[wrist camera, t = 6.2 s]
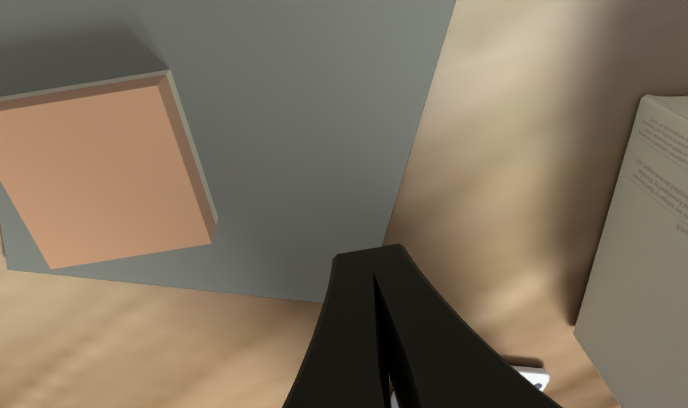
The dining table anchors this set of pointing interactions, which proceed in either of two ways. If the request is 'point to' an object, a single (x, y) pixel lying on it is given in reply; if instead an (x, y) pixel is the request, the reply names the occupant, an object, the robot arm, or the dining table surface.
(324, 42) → the felt mat
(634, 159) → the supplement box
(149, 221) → the terracotta tile
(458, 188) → the dining table surface
